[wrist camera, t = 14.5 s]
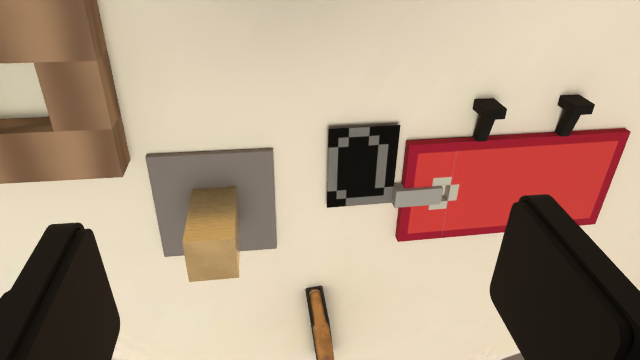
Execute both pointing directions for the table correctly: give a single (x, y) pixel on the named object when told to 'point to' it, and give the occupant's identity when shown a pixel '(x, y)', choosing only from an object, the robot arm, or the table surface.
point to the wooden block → (212, 234)
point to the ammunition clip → (320, 323)
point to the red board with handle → (475, 172)
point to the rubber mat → (210, 172)
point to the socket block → (61, 94)
